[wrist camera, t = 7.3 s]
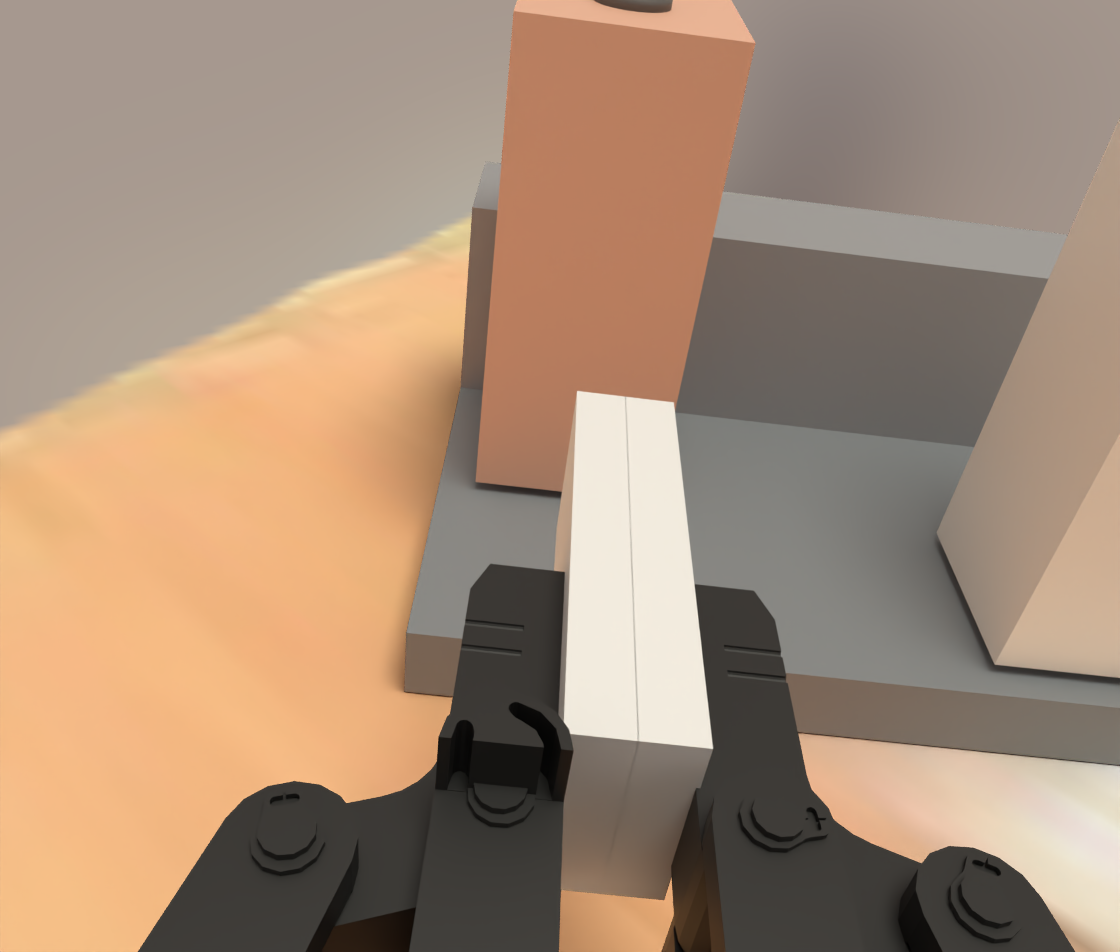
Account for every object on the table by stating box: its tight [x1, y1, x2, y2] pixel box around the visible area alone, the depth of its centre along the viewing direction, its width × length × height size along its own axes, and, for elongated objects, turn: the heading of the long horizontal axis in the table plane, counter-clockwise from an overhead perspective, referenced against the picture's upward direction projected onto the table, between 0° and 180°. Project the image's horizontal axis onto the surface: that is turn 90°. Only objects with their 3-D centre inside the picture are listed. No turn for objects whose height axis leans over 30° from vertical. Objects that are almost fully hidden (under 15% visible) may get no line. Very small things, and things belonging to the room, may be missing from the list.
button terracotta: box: [475, 0, 755, 492], centre depth 26 cm, size 5×5×12 cm
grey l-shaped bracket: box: [404, 162, 1120, 765], centre depth 28 cm, size 15×20×8 cm
